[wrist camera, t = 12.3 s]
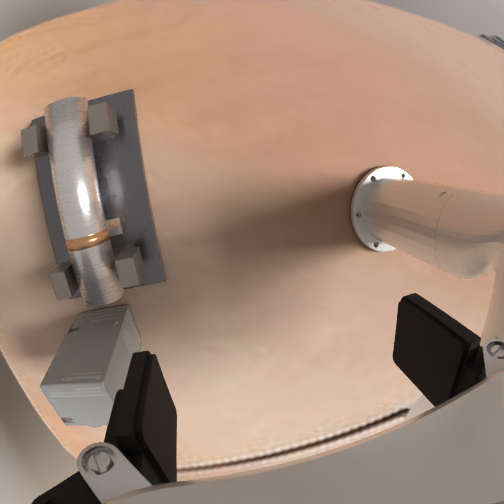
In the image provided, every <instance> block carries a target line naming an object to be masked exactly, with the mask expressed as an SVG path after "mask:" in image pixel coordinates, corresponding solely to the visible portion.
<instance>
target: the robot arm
mask: <svg viewBox="0 0 504 504" xmlns="http://www.w3.org/2000/svg"><path fill="white" fill-rule="evenodd" d="M356 214H357V215H356ZM351 220H352V225H353V228H354V231H355V233H356V235H357V236H358V238H359V239H360V240H361V241H362V243H363V244H365V245H366V246H368V247H369V248H371V249H373V250H375V251H380V252H389V251H393V250H396V249H399V250H401V251H403V252H405V253H407V254H410V255H412V256H414V257H416V258H418V259H420V260H422V261H424V262H426V263H428V264H431V265H433V266H435V267H437V268H439V269H441V270H443V271H445V272H447V273H449V274H451V275H453V276H455V277H458V278H462V279H475V278H479V277H482V276H484V275H486V274H488V273H490V272H492V271H494V270H495V281H494V287H493V294H492V298H491V302H490V306H489V310H488V314H487V318H486V321H485V325H484V329H483V332H482V336H481V338H480V337H479V336H478V335H476V334H475V333H473V332H472V331H471V330H469V329H468V328H466V327H465V326H463V325H462V324H461V323H459V322H458V321H456V320H455V319H453V318H452V317H451V316H449V315H448V314H446V313H445V312H443V311H442V310H440V309H439V308H437V307H436V306H434V305H433V304H432V303H430V302H429V301H427V300H426V299H424V298H423V297H421V296H420V295H418V294H416V293H413V294H410V295H407V296H404V297H402V299H401V301H400V302H399V304H398V314H397V324H396V334H395V342H394V350H393V360H394V363H395V364H396V365H397V366H398V367H399V368H400V369H401V370H402V371H403V373H404V374H405V375H406V376H407V377H408V378H409V379H410V380H411V381H412V382H413V383H414V384H415V386H416V387H417V388H418V389H419V390H420V391H421V392H422V393H423V394H424V395H425V397H426V398H427V399H428V400H429V401H430V402H431V403H432V404H433V405H434V406H435V407H434V408H432V409H430V410H428V411H426V412H424V413H422V414H420V415H418V416H416V417H414V418H411V419H409V420H407V421H405V422H403V423H400V424H398V425H396V426H394V427H391V428H389V429H387V430H384V431H382V432H379V433H377V434H374V435H372V436H369V437H366V438H364V439H361V440H358V441H356V442H353V443H350V444H347V445H344V446H341V447H338V448H335V449H332V450H329V451H326V452H323V453H319V454H316V455H313V456H309V457H305V458H302V459H298V460H294V461H290V462H286V463H282V464H278V465H274V466H269V467H265V468H260V469H255V470H250V471H244V472H239V473H234V474H228V475H222V476H215V477H208V478H200V479H193V480H186V481H179V482H177V468H176V440H177V413H176V408H175V405H174V403H173V400H172V398H171V395H170V393H169V390H168V387H167V385H166V382H165V379H164V377H163V374H162V371H161V368H160V365H159V363H158V360H157V357H156V355H155V354H150V352H149V351H142V352H134V353H133V354H132V358H131V362H130V365H129V369H128V373H127V376H126V380H125V384H124V388H123V389H119V390H118V391H117V393H116V396H115V399H114V403H113V407H112V411H111V415H110V419H109V423H108V427H107V431H106V435H105V439H104V442H99V443H94V444H91V445H89V446H87V447H86V448H85V449H83V450H82V451H81V453H80V454H79V456H78V458H77V467H78V470H79V471H78V472H77V473H75V474H74V475H72V476H70V477H69V478H67V479H66V480H64V481H63V482H61V483H60V484H58V485H56V486H55V487H53V488H52V489H50V490H48V491H47V492H45V493H43V494H42V495H40V496H38V497H37V498H36V499H35V500H34V501H33V502H32V504H504V195H502V194H495V193H489V192H482V191H477V190H472V189H466V188H460V187H455V186H449V185H443V184H437V183H430V182H424V181H417V180H413V179H412V177H411V176H410V175H409V174H408V173H407V172H405V171H404V170H402V169H400V168H397V167H392V166H382V167H378V168H375V169H373V170H372V171H370V172H368V173H367V174H366V175H365V176H364V177H363V178H362V179H361V181H360V182H359V184H358V185H357V187H356V189H355V191H354V195H353V198H352V203H351Z"/></svg>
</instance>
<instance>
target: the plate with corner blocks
mask: <svg viewBox="0 0 504 504" xmlns="http://www.w3.org/2000/svg"><path fill="white" fill-rule="evenodd" d="M87 109H88V119H89V128H90V135H91V138H92V145H93V152H94V159H95V166H96V172H97V178H98V184H99V189H100V195H101V200H102V205H103V210H104V215H105V219H106V224H107V227H108V231H109V235H110V241H111V245H112V250H113V254H114V257H115V264H116V268H117V272H118V275H119V279H120V282H121V286H122V288H123V289H127V288H133V287H138V286H143V285H149V284H154V283H159V282H165V281H166V274H165V270H164V266H163V261H162V257H161V253H160V248H159V244H158V239H157V234H156V229H155V224H154V219H153V214H152V209H151V204H150V199H149V193H148V187H147V182H146V176H145V170H144V164H143V157H142V151H141V144H140V137H139V129H138V121H137V113H136V105H135V96H134V90H133V89H131V90H127V91H123V92H119V93H115V94H111V95H107V96H104V97H100V98H96V99H93V100H90V101H88V107H87ZM21 137H22V147H23V156H24V157H35V159H36V166H37V173H38V179H39V185H40V191H41V196H42V201H43V206H44V211H45V216H46V220H47V225H48V229H49V233H50V237H51V241H52V245H53V249H54V252H55V256H56V260H57V263H58V267H57V268H56V269H55V270H54V271H53V272H52V273H51V274H50V279H51V282H52V285H53V288H54V291H55V294H56V297H57V299H58V300H59V299H65V298H69V299H72V298H78V297H82V295H81V292H80V289H79V286H78V283H77V279H76V276H75V273H74V270H73V266H72V263H71V259H70V255H69V252H68V250H67V246H66V242H65V236H64V232H63V228H62V224H61V219H60V215H59V210H58V205H57V200H56V195H55V190H54V184H53V178H52V172H51V165H50V158H49V150H48V142H47V132H46V121H45V116H42V117H39V118H37V119H34V120H32V126H31V127H28V128H26V129H23V130H21Z"/></svg>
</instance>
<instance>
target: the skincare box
mask: <svg viewBox="0 0 504 504" xmlns="http://www.w3.org/2000/svg"><path fill="white" fill-rule="evenodd" d="M141 344H142V341H141V339H140V336H139V334H138V331H137V328H136V326H135V323H134V320H133V317H132V314H131V312H130V309H129V306H128V305H124V306H117V307H110V308H104V309H99V310H93V311H89V312H84V313H80V314H78V316H77V318H76V320H75V321H74V323H73V325H72V326H71V328H70V330H69V332H68V333H67V335H66V337H65V339H64V341H63V342H62V344H61V346H60V348H59V350H58V352H57V354H56V355H55V357H54V359H53V361H52V363H51V365H50V367H49V369H48V371H47V373H46V375H45V377H44V379H43V381H42V383H41V385H40V388H41V389H42V391H43V393H44V394H45V396H46V397H47V399H48V400H49V402H50V403H51V405H52V406H53V408H54V409H55V411H56V412H57V413H58V415H59V416H60V418H61V419H62V421H63V422H64V423H65V425H86V426H89V427H95V428H96V427H100V426H102V425H108V423H109V419H110V415H111V411H112V407H113V403H114V399H115V396H116V393H117V391H118V390H119V389H123V388H124V384H125V380H126V376H127V373H128V369H129V365H130V362H131V358H132V354H133V353H134V352H140V349H141Z"/></svg>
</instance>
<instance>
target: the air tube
mask: <svg viewBox="0 0 504 504" xmlns="http://www.w3.org/2000/svg"><path fill="white" fill-rule="evenodd" d="M87 107H88V99H87V98H85V97H71V98H65V99H61V100H58V101H56V102H53V103H51V104H49V105H48V106H46V107H45V121H46V132H47V142H48V150H49V158H50V165H51V172H52V178H53V184H54V190H55V195H56V200H57V205H58V210H59V215H60V219H61V224H62V228H63V232H64V236H65V242H66V246H67V250H68V252H69V255H70V259H71V263H72V266H73V270H74V273H75V276H76V279H77V283H78V286H79V289H80V292H81V295H82V298H83V301H84V304H85V306H87V307H100V306H104V305H108V304H110V303H113V302H115V301H116V300H118V299H119V298H121V297H122V296H123V294H124V290H123V288H122V286H121V282H120V279H119V275H118V272H117V268H116V264H115V257H114V254H113V250H112V245H111V241H110V235H109V231H108V227H107V224H106V219H105V215H104V210H103V205H102V200H101V195H100V189H99V184H98V178H97V172H96V166H95V159H94V152H93V145H92V138H91V135H90V128H89V119H88V109H87Z"/></svg>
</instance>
